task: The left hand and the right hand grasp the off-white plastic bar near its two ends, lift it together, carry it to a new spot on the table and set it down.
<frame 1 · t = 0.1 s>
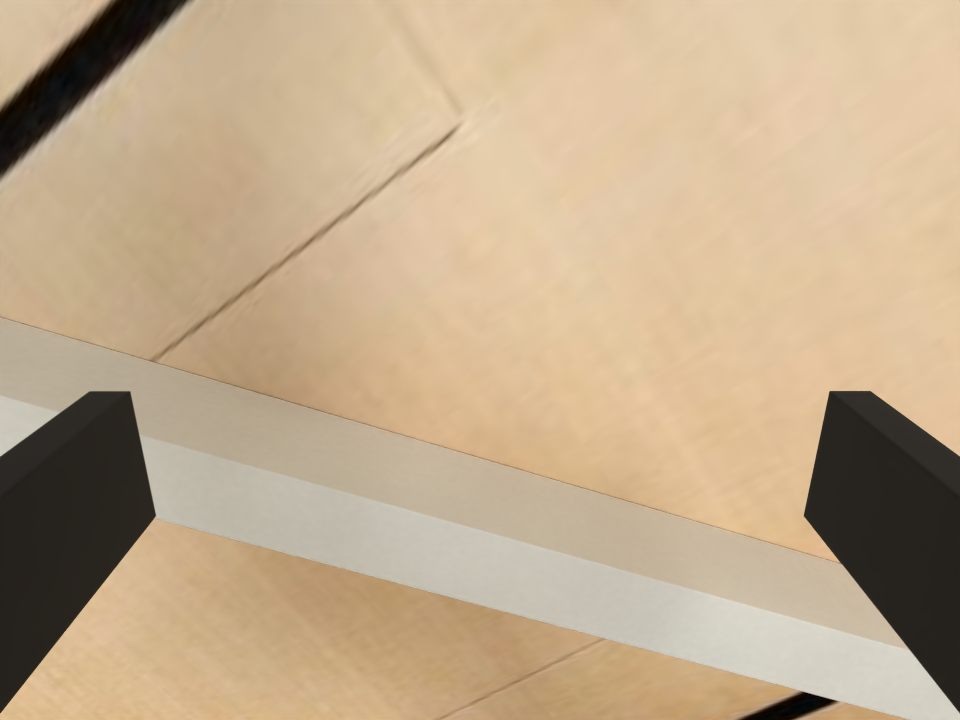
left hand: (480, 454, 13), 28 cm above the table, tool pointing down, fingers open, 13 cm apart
bar: (496, 495, 46), on the table
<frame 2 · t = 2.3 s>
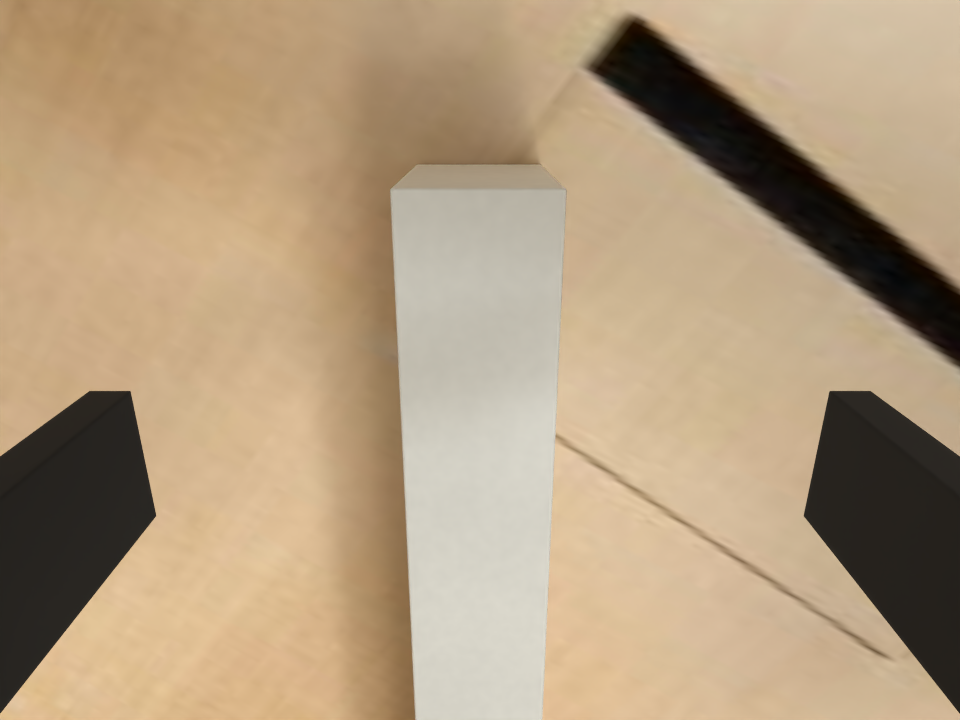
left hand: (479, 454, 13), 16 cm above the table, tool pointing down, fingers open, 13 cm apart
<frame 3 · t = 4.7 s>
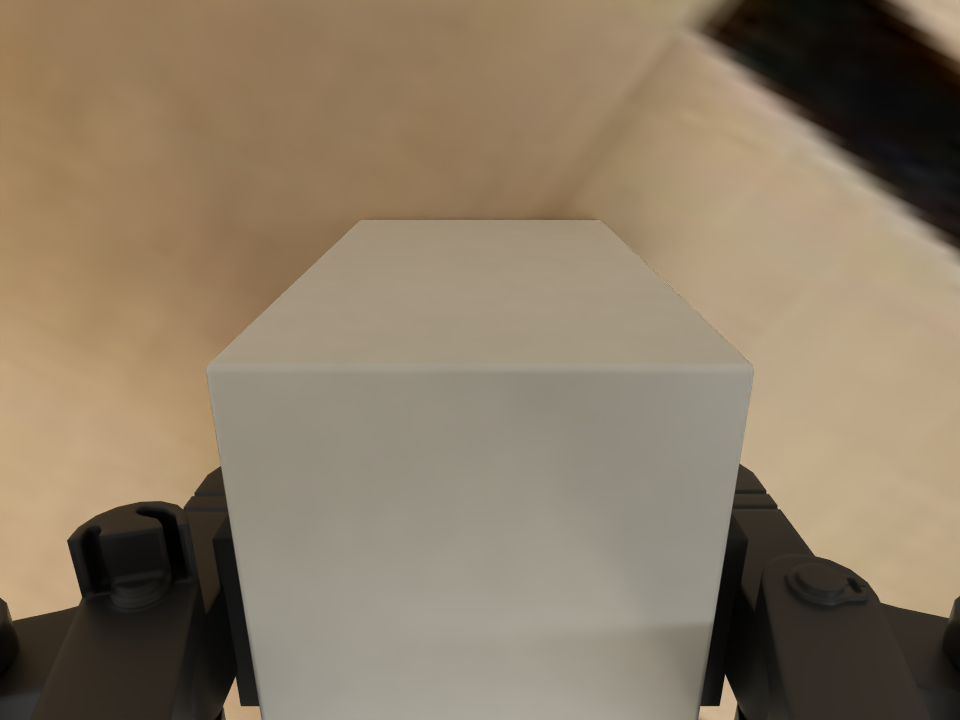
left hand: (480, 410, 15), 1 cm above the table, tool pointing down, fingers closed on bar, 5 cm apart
when the left hand's fingers open (2 cm above the table, at t = 9.9 s): bar moves 1 cm, on the table.
when the right hand's fingers open (4 cm above the table, at t = 10.1 s): bar stays where it is, on the table.
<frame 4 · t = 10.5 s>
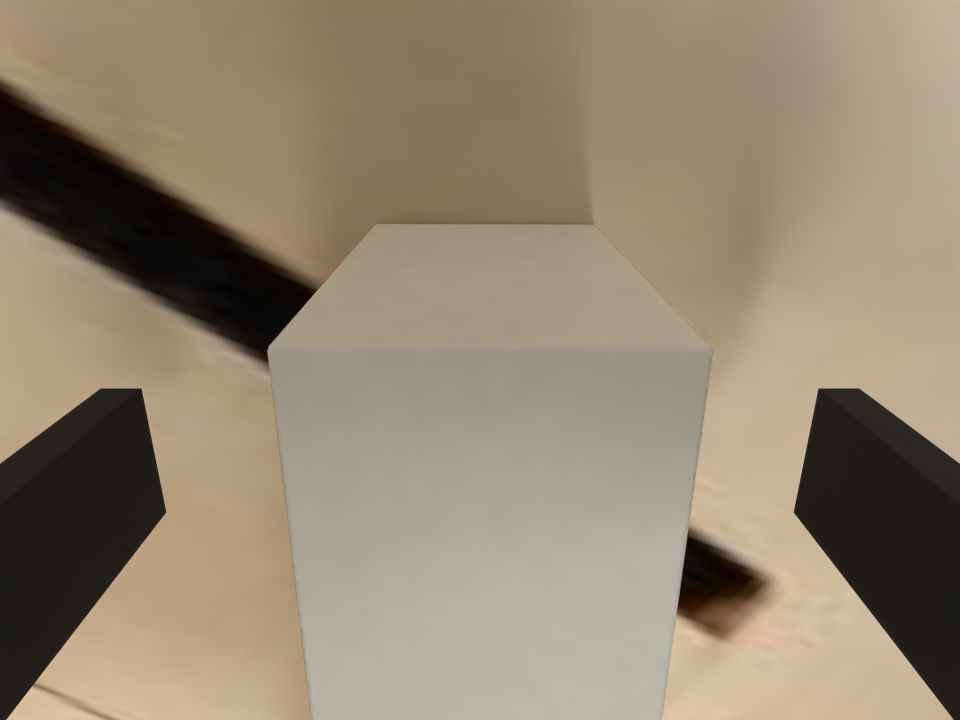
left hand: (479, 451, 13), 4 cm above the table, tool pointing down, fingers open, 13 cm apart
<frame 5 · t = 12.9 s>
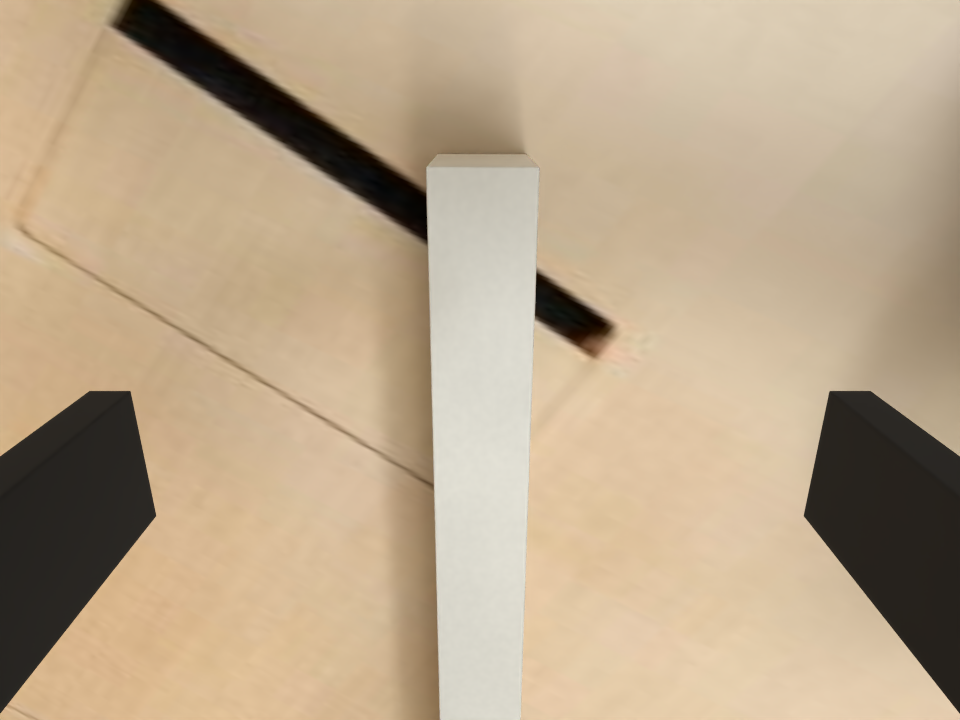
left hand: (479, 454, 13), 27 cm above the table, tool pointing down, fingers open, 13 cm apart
bar: (479, 648, 49), on the table
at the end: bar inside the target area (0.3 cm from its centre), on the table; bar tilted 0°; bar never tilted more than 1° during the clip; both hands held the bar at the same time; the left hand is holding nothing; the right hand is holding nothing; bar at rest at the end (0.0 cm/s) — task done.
